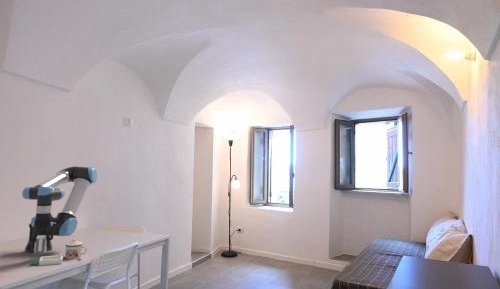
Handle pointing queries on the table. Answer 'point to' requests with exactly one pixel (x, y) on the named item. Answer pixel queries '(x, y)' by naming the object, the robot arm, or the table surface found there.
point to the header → (51, 260)
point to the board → (35, 262)
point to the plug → (40, 245)
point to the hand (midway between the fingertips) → (40, 252)
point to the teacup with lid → (74, 249)
